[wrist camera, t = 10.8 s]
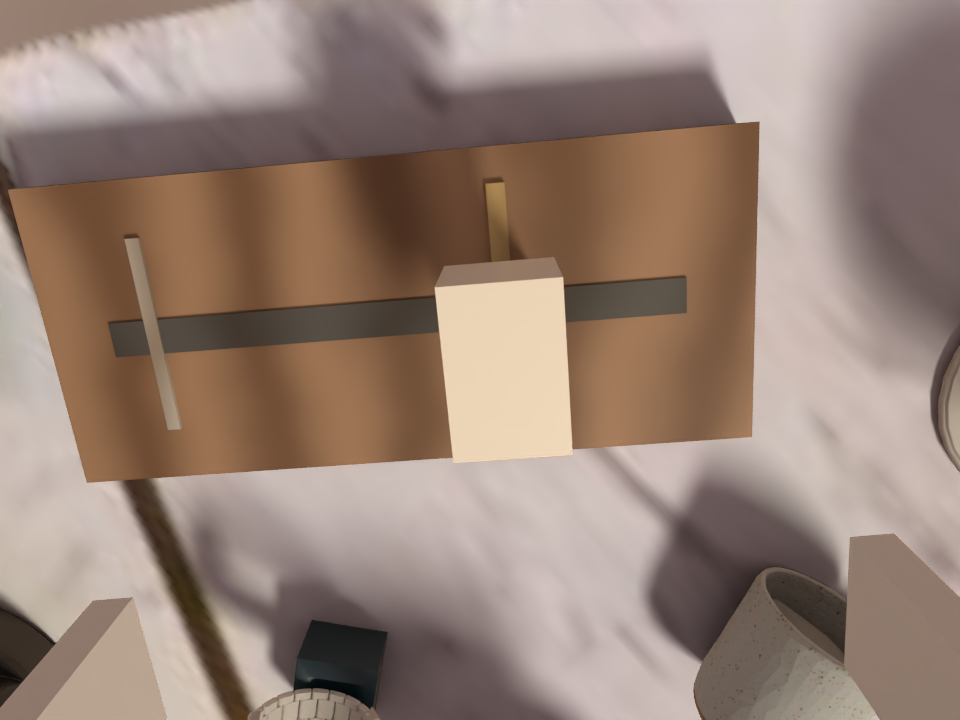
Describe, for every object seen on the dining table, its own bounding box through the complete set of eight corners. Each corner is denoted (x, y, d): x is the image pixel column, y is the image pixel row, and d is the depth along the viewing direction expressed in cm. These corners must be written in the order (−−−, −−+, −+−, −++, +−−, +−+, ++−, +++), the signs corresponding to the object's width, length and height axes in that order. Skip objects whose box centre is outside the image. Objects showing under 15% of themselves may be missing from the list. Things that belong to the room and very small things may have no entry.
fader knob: (465, 378, 33) (453, 463, 24) (452, 246, 31) (434, 287, 22) (553, 371, 33) (572, 454, 24) (545, 238, 31) (563, 277, 22)
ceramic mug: (669, 663, 41) (708, 778, 34) (739, 546, 39) (798, 643, 31) (831, 722, 42) (903, 846, 35) (908, 612, 40) (1003, 721, 32)
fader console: (118, 456, 38) (84, 484, 35) (49, 185, 34) (4, 190, 31) (732, 413, 36) (753, 438, 33) (736, 123, 32) (761, 121, 29)
